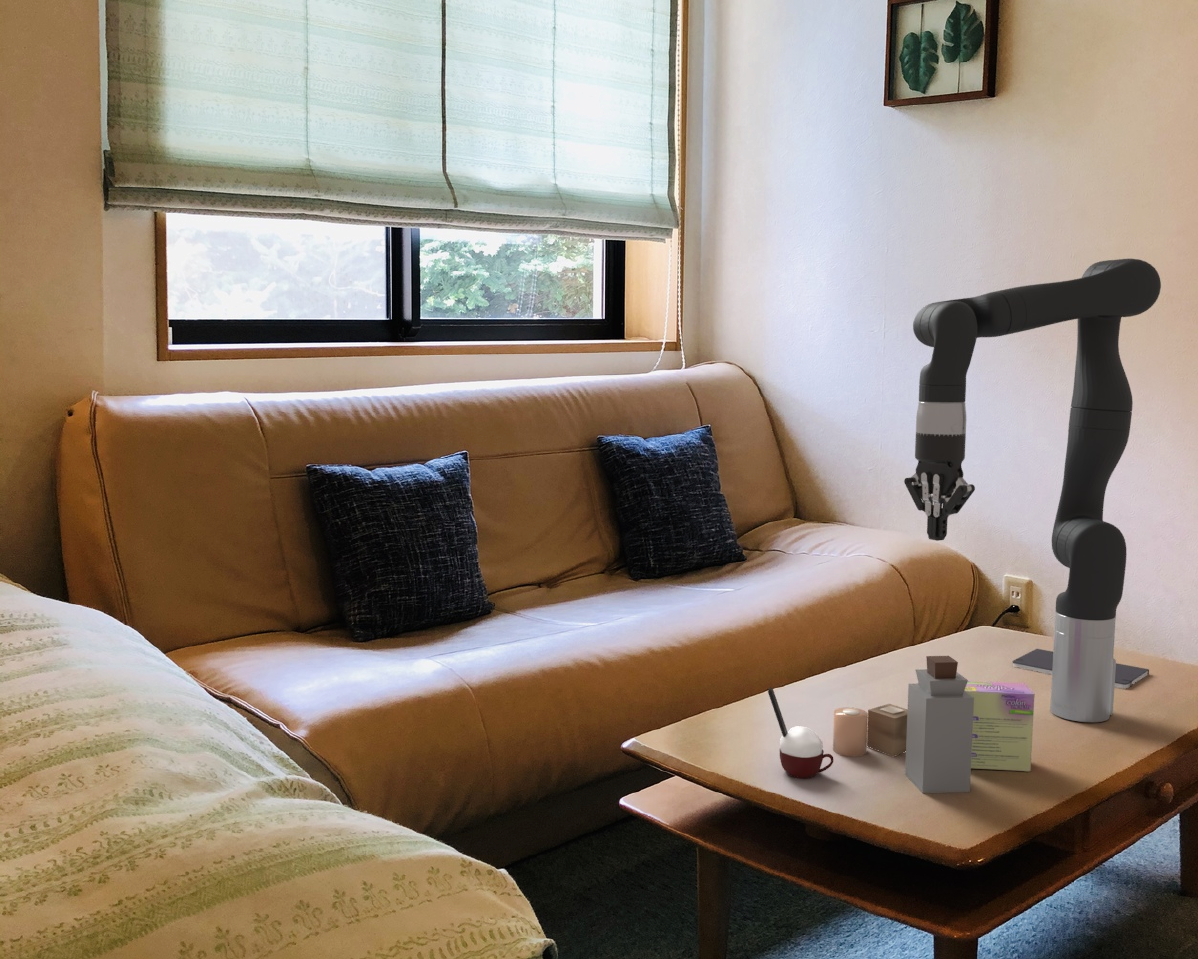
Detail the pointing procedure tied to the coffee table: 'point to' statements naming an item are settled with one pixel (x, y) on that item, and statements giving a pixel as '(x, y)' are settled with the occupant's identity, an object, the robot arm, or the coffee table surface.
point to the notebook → (1044, 664)
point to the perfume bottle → (939, 728)
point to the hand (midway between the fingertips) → (936, 539)
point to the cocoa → (799, 747)
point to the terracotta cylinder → (850, 732)
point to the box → (1001, 725)
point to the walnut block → (887, 729)
